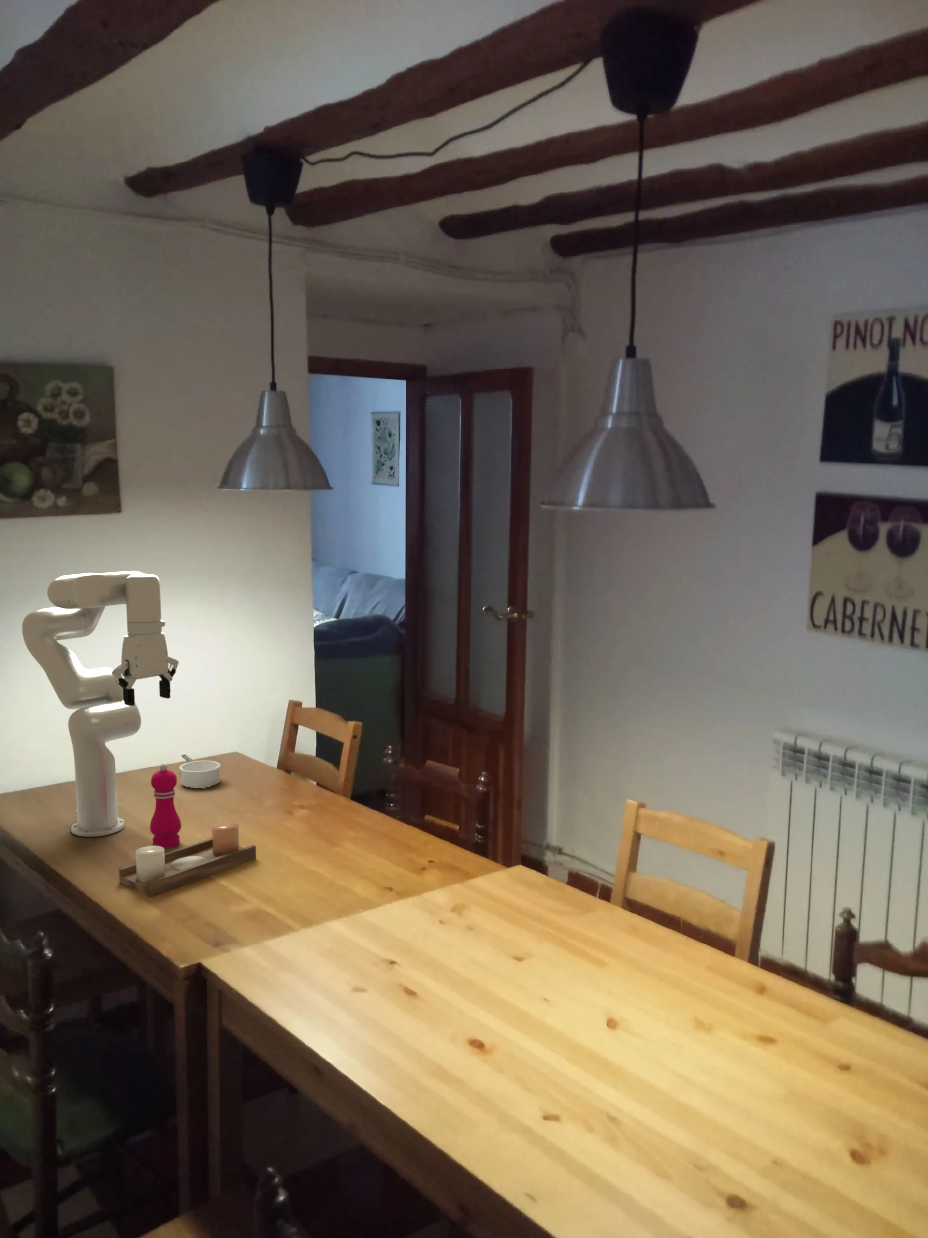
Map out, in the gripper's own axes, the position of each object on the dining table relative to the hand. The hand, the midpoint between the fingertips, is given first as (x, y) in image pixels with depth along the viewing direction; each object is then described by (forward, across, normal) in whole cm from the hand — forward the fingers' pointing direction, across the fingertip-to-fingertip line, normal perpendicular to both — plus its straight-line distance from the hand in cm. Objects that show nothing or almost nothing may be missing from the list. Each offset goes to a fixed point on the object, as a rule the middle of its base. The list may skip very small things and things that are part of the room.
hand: (147, 701), depth 231 cm
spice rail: (+37, +2, +16) cm, 40 cm away
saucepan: (+37, -42, -37) cm, 67 cm away
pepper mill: (+37, -5, -2) cm, 37 cm away
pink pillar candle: (+35, -8, +16) cm, 39 cm away
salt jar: (+35, +12, +15) cm, 40 cm away
